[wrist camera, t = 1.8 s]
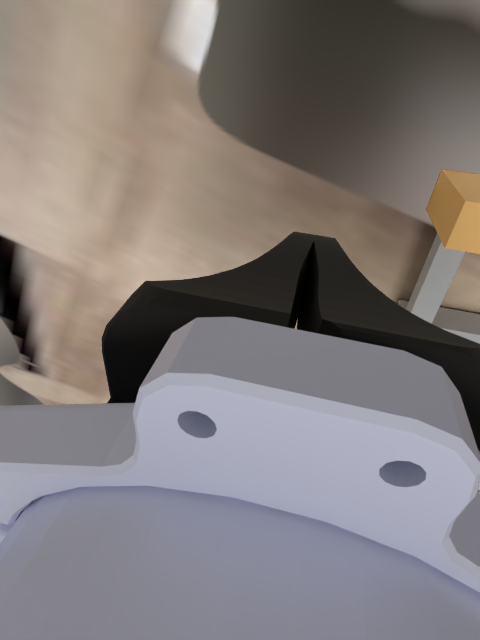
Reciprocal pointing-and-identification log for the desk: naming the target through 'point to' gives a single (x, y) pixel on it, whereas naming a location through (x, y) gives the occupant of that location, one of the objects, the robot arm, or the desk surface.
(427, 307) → the tray
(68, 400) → the desk surface
